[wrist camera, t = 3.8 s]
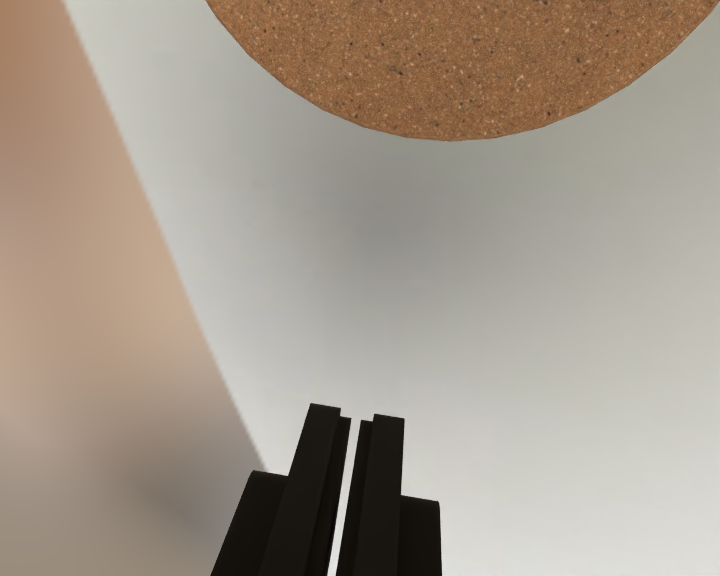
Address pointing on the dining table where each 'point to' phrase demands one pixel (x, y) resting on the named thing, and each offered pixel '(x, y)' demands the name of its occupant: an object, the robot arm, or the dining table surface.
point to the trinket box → (458, 57)
